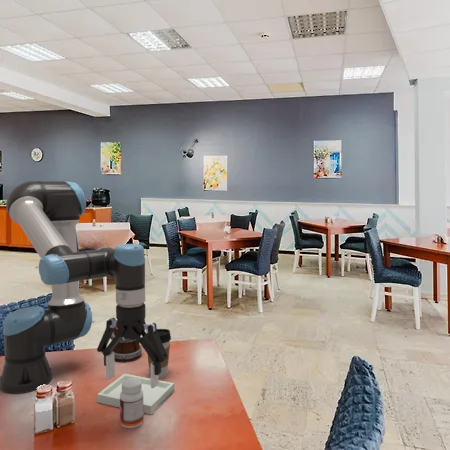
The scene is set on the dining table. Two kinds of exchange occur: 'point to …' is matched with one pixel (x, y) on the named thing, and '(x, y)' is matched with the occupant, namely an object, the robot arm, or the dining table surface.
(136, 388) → the pill bottle
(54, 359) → the dining table surface
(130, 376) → the tray
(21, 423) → the dining table surface
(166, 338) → the coffee cup
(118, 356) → the mug
